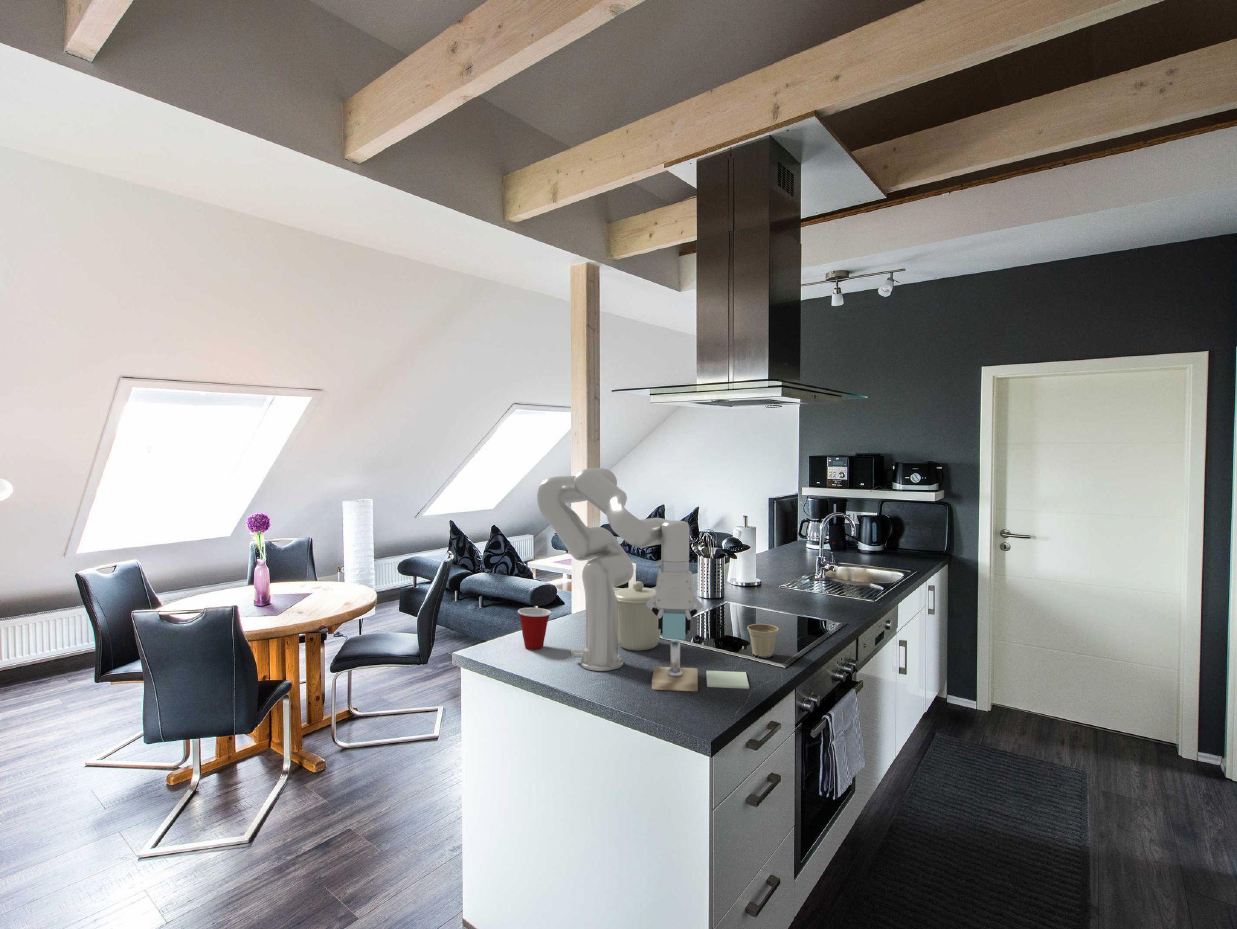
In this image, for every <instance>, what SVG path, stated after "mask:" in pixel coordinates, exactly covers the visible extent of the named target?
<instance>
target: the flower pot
mask: <svg viewBox="0 0 1237 929" xmlns="http://www.w3.org/2000/svg"><path fill="white" fill-rule="evenodd" d="M746 628H747V630H748V633H749V636H750V645H751V652H752V655H753V654H754V655H759V656H767V655H772V654H773V653H774V652H775V644H776V638H777V637H776V636H778V635H777V634H778V631H779V627H777V626H776V625H772V624H767V623H766V624H765V623H756V624H755V623H754V624H749V625H748V626H747V627H746ZM773 655H774V654H773Z"/></svg>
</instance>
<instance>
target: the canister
mask: <svg viewBox="0 0 1237 929" xmlns="http://www.w3.org/2000/svg"><path fill="white" fill-rule="evenodd" d="M614 593H615V595H616V598H617V603H618V646H620V647H621V648H623V649H625V650H629V651H636V652H637V651H638V652H639V651H649V650H652V649H654V648H655V647H657V646H658V645H659V642H660V637H661V629H658V617H657V616H656V615H655V614H654V613H653V612H652V610H651V609H650V608H649V607H648V606H647V605H646V603H647V602H648V601H649V600H650V599H651V598H652V597H653V596H654V595H655V594H656V588H650V587H644V583H643V582H642V581H638V580H637V581H634V582H633V583H632V587H624V588H620V589H617V590H615V591H614ZM653 605H654V606H655V607H656V601H655V602H654V603H653ZM656 608H657V607H656ZM657 609H658V610H659V608H657Z"/></svg>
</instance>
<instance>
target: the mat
mask: <svg viewBox="0 0 1237 929" xmlns="http://www.w3.org/2000/svg"><path fill="white" fill-rule="evenodd" d="M705 674H706V687H707V688H724V689H727V688H728V689H747V690H749V689H750V685H749V681H748V677H747V672H746V671H725V670H706V673H705Z"/></svg>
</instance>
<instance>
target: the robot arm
mask: <svg viewBox="0 0 1237 929" xmlns="http://www.w3.org/2000/svg"><path fill="white" fill-rule="evenodd" d="M536 500H537V506H538V509H539V512H540V513H541V515H542V516H543V518H544V519H545V520H546V521H547V523H548V524H549V525H550V526H551V528H552V529H553V530H554V532H555V533H556V535H557V536H558V538H559V539H560V541H561V542H562V544H563V546H565V548H566V550H567V551H568V553H569V554H570V555H571V557H573V558H574V560H576V561H580V562H581V561H587V560H589V561H588V562H586V564H585V565H584V567H583V569H582V573H581V574H582V575H581V576H582V577H581V579H582V584H583V591H584V597H585V598H584V599H585V601H584V602H585V647H584V648H583V647H582V648H581V649H579V648H571V653H570V654H571V656H573V657H574V658H581V659H580V666H581V667H582V668H584V669H585V670H589V671H597V672H607V671H614V670H617V669H619V668H622V666H623V665H624V659H623V658H622V657H620V656H619V643H618V603H617V598H616V595H615V593H614V592H615V591H614V590H615V589H614V588H616V587H619V586H622V585H625V584H627V583H628V582H630V581H631V580H632V578H633V576H634V565H633V562H632V560H631V559H630V557H629V556H628V554H627V553H626V551H625V549H623V547H622V546H621V544H620V543H619V541H618V540H617V539H616V537H615V536H614V534H613V533H612V532H611V531H610V530H608V529H606V528H605V527H602V526H594V527H593V526H592V527H588V526H587V525H586V524H585V523H584V522H583V520H582V519H581V517H580V516H579V515H578V514H577V513H576V511H574V510H573V509H572V508H570V507H569V506H568V505H567V504H572V503H581V502H586V501H588V502H589V503H590V504H592V505H594V506H595V508H597V509H598V510H600V512H602V513H603V514H605V516H606V519H607V522H608V524H609V526H610V527H611V529H612V531H613V532H614V533H615V534H616V535H617V536H618V537H620V538H621V539H622V540H624V541H625V542H626V543H628V544H629V545H630V546H633V547H635V548H641V549H642V548H647V547H652V546H656V545H657V546H658V545H661V546H660V547H661V548H660V549H661V550H660V552H661V554H660V558H661V559H660V560H659V561H655V567H657V568H659V570H658V572H657V576H656V577H657V578H656V586H655V589H656V594H655V595H654V596H653V597H652V598H651V599H650V600H649V601H648V602H647V603H646V605H647V606H648V607H649V608H650V609H651V610H652V612H653V613H654V614H655V615H656V616H657V617H658V629H661V632H660V634H663V612H664V610H665V609H666V610H684V611H685V614H686V619H685V635H689V634H688V633H689V632H688V631H691V620H692V618H694V617H695V615H696V614H698V612H700V611H701V610H703V608H704V604H703V603H702V602H701V601H700V599H699V598H697V596H695V594H694V581H693V574H692V571H690V524H689V523H688V522H687V521H684V520H676V519H675V520H669V519H666V518H661V517H650V518H644V519H639V518H638V517H636V516H635V515H634V514H632V513H631V512H630V511H629V510H627V508H625V506H626V503H627V500H628V496H627V494H626V492H625V491H624V490H622V489H621V488H620V487H618V481H617V477H616V475H615V474H614V472H613V471H612V470H610V469H609V468H603V467H599V468H585V469H582V470H580V471H579V472H578V473H577V474H576V475H566V476H565V475H563V476H561V475H560V476H552V477H548V478H546V479H545V480H543V481H541V483H540V484H539V486H538V489H537V494H536ZM655 601H656V607H657V608H659V610H658V609H657V608H656V607H655V606H654V605H653V603H654V602H655ZM694 605H696V606H695V607H694ZM693 607H694V608H693Z"/></svg>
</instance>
